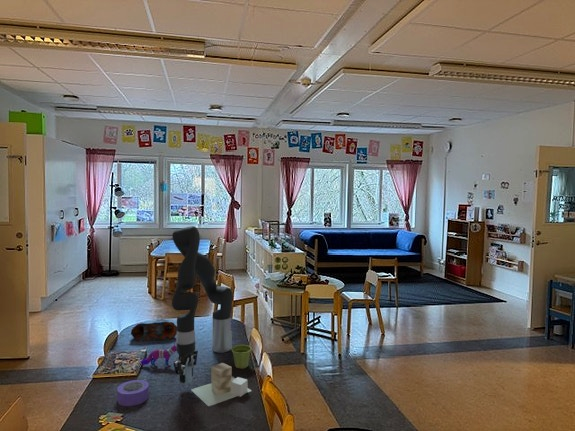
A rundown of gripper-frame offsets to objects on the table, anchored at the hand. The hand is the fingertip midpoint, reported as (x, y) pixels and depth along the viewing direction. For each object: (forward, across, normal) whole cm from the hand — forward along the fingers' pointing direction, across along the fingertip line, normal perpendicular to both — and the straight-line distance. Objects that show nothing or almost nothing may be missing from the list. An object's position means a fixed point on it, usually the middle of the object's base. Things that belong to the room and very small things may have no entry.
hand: (186, 379), depth 170 cm
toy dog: (+5, -15, -25) cm, 30 cm away
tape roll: (+5, +13, -16) cm, 21 cm away
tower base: (+5, -5, +14) cm, 15 cm away
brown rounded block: (+6, -46, -53) cm, 70 cm away
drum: (+1, 0, 0) cm, 1 cm away
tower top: (0, -6, +14) cm, 15 cm away
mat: (+5, -5, +14) cm, 15 cm away
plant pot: (+6, -29, +10) cm, 32 cm away
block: (+5, -7, +21) cm, 23 cm away
